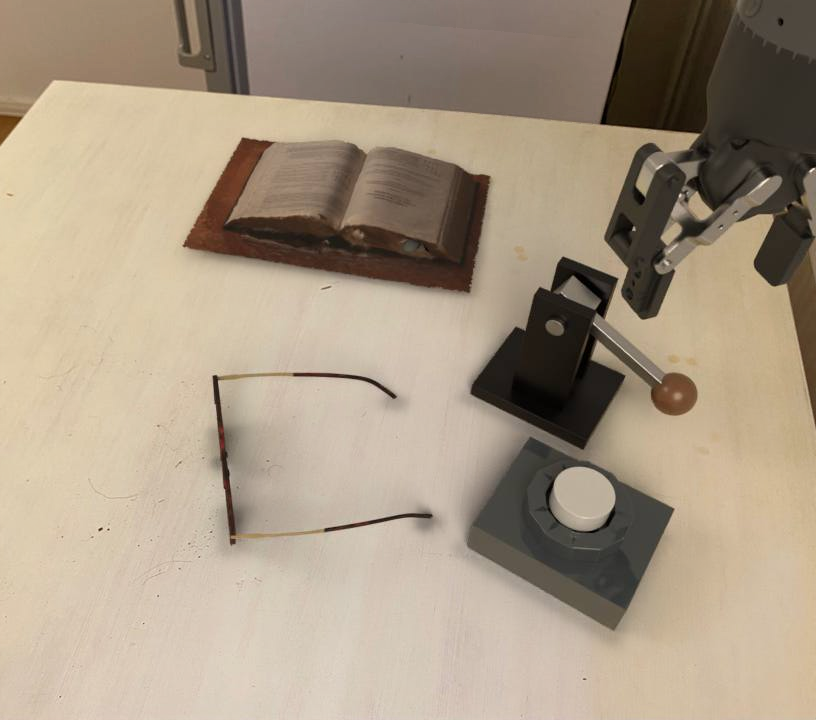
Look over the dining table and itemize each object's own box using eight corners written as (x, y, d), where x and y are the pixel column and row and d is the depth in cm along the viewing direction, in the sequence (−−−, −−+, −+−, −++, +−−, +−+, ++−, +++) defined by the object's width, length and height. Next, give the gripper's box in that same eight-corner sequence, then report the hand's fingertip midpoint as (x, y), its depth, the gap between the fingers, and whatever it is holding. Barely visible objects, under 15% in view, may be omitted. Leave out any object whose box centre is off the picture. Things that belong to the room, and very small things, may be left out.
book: (470, 301, 75) (477, 262, 71) (181, 253, 78) (175, 214, 75) (489, 184, 88) (496, 147, 85) (242, 148, 92) (240, 111, 89)
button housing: (661, 531, 59) (683, 494, 55) (614, 631, 54) (634, 598, 50) (522, 460, 63) (534, 421, 59) (467, 547, 58) (475, 510, 54)
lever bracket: (622, 385, 68) (663, 281, 59) (583, 450, 63) (622, 348, 54) (513, 336, 71) (537, 231, 63) (470, 394, 67) (489, 291, 58)
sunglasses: (214, 410, 66) (211, 370, 62) (390, 393, 69) (398, 353, 65) (232, 570, 57) (230, 534, 53) (435, 543, 59) (447, 506, 56)
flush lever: (682, 402, 62) (713, 386, 59) (667, 430, 60) (699, 415, 57) (553, 289, 62) (579, 268, 59) (535, 314, 60) (560, 293, 58)
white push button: (618, 498, 55) (625, 484, 54) (595, 542, 53) (601, 528, 52) (563, 471, 57) (568, 456, 55) (538, 512, 54) (543, 498, 53)
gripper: (744, 85, 30) (629, 369, 42) (1043, 26, 33) (855, 308, 45) (635, -2, 35) (560, 276, 47) (905, -47, 38) (768, 226, 50)
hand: (705, 292), depth 46 cm, fingers open, 8 cm apart
